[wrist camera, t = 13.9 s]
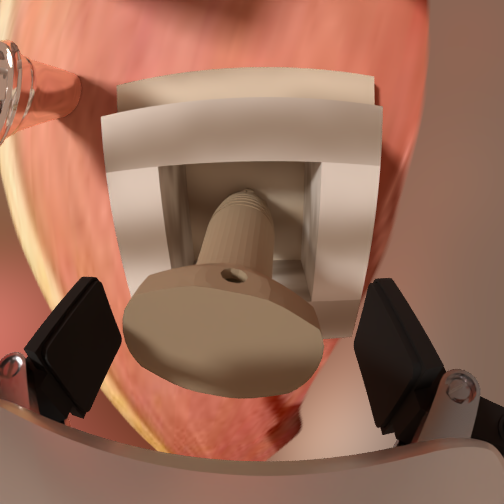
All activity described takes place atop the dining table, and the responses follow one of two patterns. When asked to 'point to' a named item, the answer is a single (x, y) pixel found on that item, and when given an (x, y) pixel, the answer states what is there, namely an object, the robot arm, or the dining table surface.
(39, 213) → the dining table surface
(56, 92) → the cup with straw
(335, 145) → the socket holder
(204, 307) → the handle
